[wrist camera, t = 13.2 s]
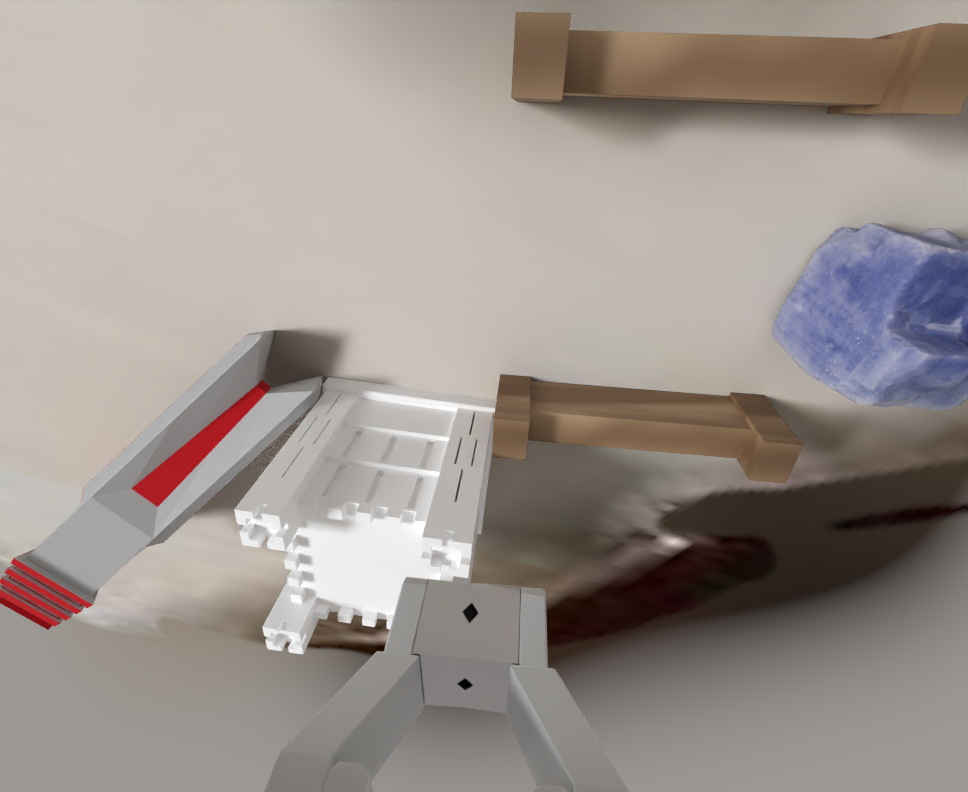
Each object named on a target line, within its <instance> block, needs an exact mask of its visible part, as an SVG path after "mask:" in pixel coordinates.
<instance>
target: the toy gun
mask: <svg viewBox="0 0 968 792" xmlns="http://www.w3.org/2000/svg"><path fill="white" fill-rule="evenodd" d="M273 335H274V330H271V331H264V332H257V333H250V334H248V335H246V336H245V337H244V338H243V339H242V340H241V341H240V342H239V343H237V344H236V345H235V346H234V347H233V348H232V349H231V350H230V351H229V352H228V353H227V354H226V355H225V356H224V357H223V358H221V359H220V360H219V361H218V362H217V363H216V364H215V365H214V366H213V367H212V368H211V369H210V370H209V371H208V372H206V373H205V374H204V375H203V376H202V377H201V378H200V379H199V380H198V381H197V382H196V383H195V384H194V385H193V386H192V387H190V388H189V389H188V390H187V391H186V392H185V393H184V394H183V395H182V396H181V397H180V398H179V399H178V400H177V401H176V402H174V403H173V404H172V405H171V406H170V407H169V408H168V409H167V410H166V411H165V412H164V413H163V414H162V415H161V416H159V417H158V418H157V419H156V420H155V421H154V422H153V423H152V424H151V425H150V426H149V427H148V428H147V429H146V430H145V431H143V432H142V433H141V434H140V435H139V436H138V437H137V438H136V439H135V440H134V441H133V442H132V443H131V444H130V445H129V446H127V447H126V448H125V449H124V450H123V451H122V452H121V453H120V454H119V455H118V456H117V457H116V458H115V459H114V460H112V461H111V462H110V463H109V464H108V465H107V466H106V467H105V468H104V469H103V470H102V471H101V472H100V473H99V474H98V475H96V476H95V477H94V478H93V479H92V480H91V481H90V482H89V483H88V484H87V485H86V486H85V487H84V488H83V492H82V498H81V504H80V505H79V506H78V507H77V509H76V510H75V511H74V512H73V513H72V515H71V516H70V517H69V518H68V519H67V520H66V521H65V522H64V523H63V524H62V525H61V526H60V527H59V528H57V529H56V530H55V531H54V532H53V533H52V534H51V535H50V536H49V537H48V538H47V539H46V540H45V541H44V542H43V543H41V544H40V545H39V546H38V547H37V548H36V549H34V550H31V551H29V552H27V553H24V554H22V555H20V556H17V557H15V558H14V559H13V560H12V562H11V563H12V564H13V566H11V567H9V568H7V570H6V572H5V573H6V574H7V575H6V576H4V577H2V578H1V580H0V583H1V584H0V603H1V604H3V605H4V606H6V607H8V608H10V609H12V610H14V611H15V612H17V613H19V614H21V615H23V616H25V617H26V618H28V619H30V620H32V621H34V622H35V623H37V624H39V625H41V626H42V627H44V628H46V629H49V628H50V627H51V626H52V625H53V626H56V625H58V624H60V623H61V621H62V620H63V619H64V620H67V619H69V618H71V616H72V615H73V613H75V614H78V613H79V612H81V611H82V610H83V608H84V606H85V607H86V608H88V607H90V606H92V605H93V603H94V600H95V598H96V595H97V593H98V590H99V588H100V587H101V586H103V585H104V584H105V583H106V582H107V581H108V580H109V579H110V578H111V577H112V576H113V575H114V574H116V573H117V572H118V571H119V570H120V569H121V568H122V567H123V566H124V565H125V564H126V563H128V562H129V561H130V560H131V559H132V558H133V557H134V556H136V555H137V554H138V553H139V552H140V551H142V550H143V549H144V548H145V547H148V546H151V545H155V544H159V543H163V542H164V541H165V540H167V539H168V538H169V537H170V536H171V535H172V534H173V533H174V532H175V531H176V530H177V529H179V528H180V527H181V526H182V525H183V524H184V523H185V522H186V521H187V520H188V519H189V518H191V517H192V516H193V515H194V514H195V513H196V512H197V511H198V510H199V509H200V508H201V507H203V506H204V505H205V504H206V503H207V502H208V501H209V500H210V499H211V498H212V497H213V496H214V495H216V494H217V493H218V492H219V491H220V490H221V489H222V488H223V487H224V486H225V485H226V484H228V483H229V482H230V481H231V480H232V479H233V478H234V477H235V476H236V475H237V474H238V473H240V472H241V471H242V470H243V469H244V468H245V467H246V466H247V465H248V464H249V463H250V462H252V461H253V460H254V459H255V458H256V457H257V456H258V455H259V454H260V453H261V452H262V451H264V450H265V449H266V448H267V447H268V446H269V445H270V444H271V443H272V442H273V441H274V440H275V439H277V438H278V437H279V436H280V435H281V434H282V433H283V432H284V431H285V430H286V429H287V428H289V427H290V426H291V425H292V424H293V423H294V422H295V421H296V420H297V419H298V418H299V417H301V416H302V415H303V414H304V413H305V412H306V411H307V410H308V409H309V408H310V407H311V406H313V405H314V404H315V403H316V402H317V401H318V399H319V397H320V391H321V386H322V377H323V375H320V376H316V377H312V378H308V379H304V380H300V381H296V382H292V383H288V384H284V385H280V386H276V387H272V388H271V387H270V386H269V385H267V384H266V383H265V382H264V381H263V380H262V378H263V374H264V370H265V366H266V362H267V358H268V354H269V350H270V347H271V343H272V339H273Z"/></svg>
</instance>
